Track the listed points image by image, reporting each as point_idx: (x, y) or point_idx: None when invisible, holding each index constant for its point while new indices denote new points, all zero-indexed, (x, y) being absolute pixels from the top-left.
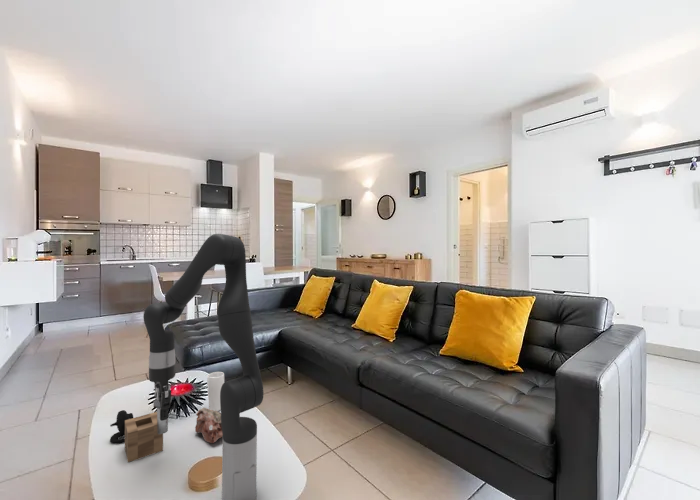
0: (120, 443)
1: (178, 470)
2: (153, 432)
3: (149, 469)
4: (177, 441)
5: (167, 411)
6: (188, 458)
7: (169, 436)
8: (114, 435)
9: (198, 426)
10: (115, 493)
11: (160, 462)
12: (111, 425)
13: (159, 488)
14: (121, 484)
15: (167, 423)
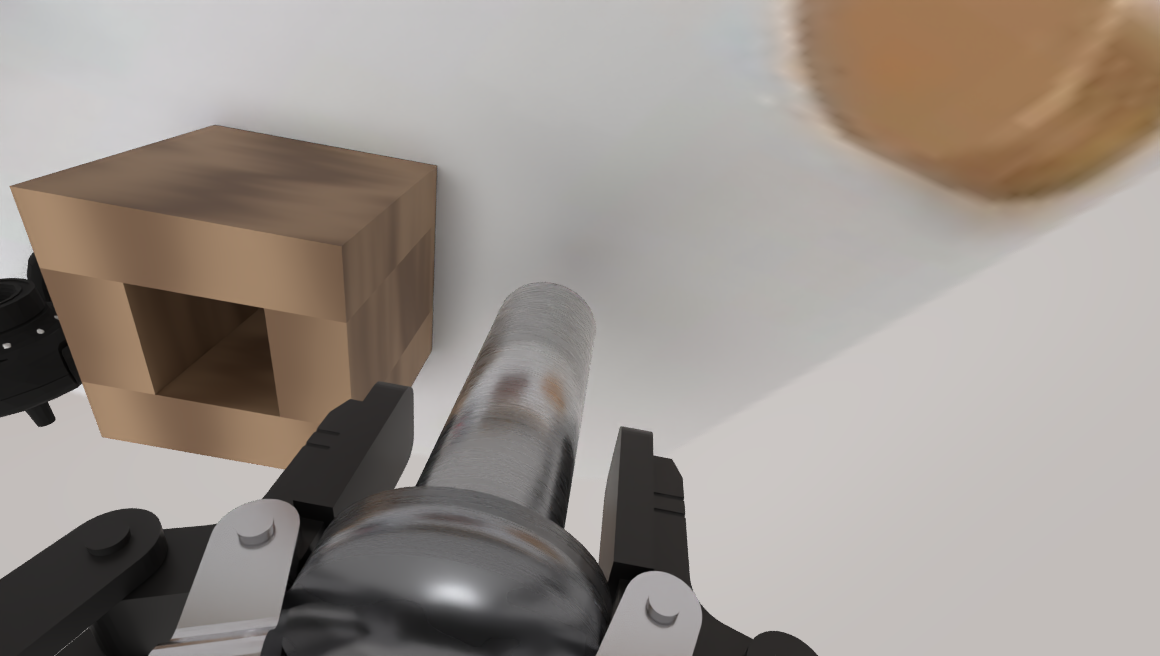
0: None
1: (760, 180)
2: (373, 295)
3: (594, 296)
4: (372, 26)
5: (653, 516)
6: (685, 64)
7: (249, 47)
8: None
9: None
10: (661, 451)
11: (571, 228)
12: (49, 420)
13: (821, 319)
14: (613, 419)
15: (567, 338)
